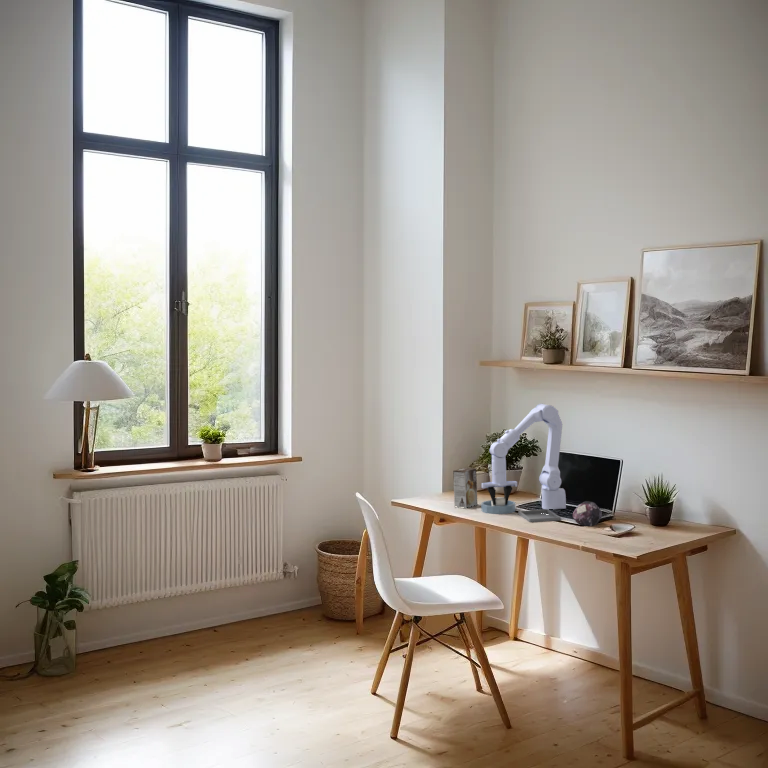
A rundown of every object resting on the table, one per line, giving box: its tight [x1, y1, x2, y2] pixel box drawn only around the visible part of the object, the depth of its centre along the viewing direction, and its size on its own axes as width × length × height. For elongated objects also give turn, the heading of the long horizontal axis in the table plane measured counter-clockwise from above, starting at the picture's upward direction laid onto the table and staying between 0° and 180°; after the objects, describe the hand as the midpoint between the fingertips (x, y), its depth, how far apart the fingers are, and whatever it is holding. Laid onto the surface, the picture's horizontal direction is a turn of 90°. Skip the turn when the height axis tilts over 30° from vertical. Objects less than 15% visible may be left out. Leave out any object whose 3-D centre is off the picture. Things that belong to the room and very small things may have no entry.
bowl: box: [480, 499, 517, 515], centre depth 359 cm, size 14×14×4 cm
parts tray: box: [518, 509, 561, 523], centre depth 343 cm, size 12×15×2 cm
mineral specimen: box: [572, 500, 603, 527], centre depth 329 cm, size 10×10×10 cm
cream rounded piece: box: [495, 496, 506, 506], centre depth 356 cm, size 4×4×3 cm
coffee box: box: [453, 467, 478, 509], centre depth 374 cm, size 9×6×16 cm
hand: (499, 504), depth 356 cm, fingers closed on cream rounded piece, 4 cm apart
